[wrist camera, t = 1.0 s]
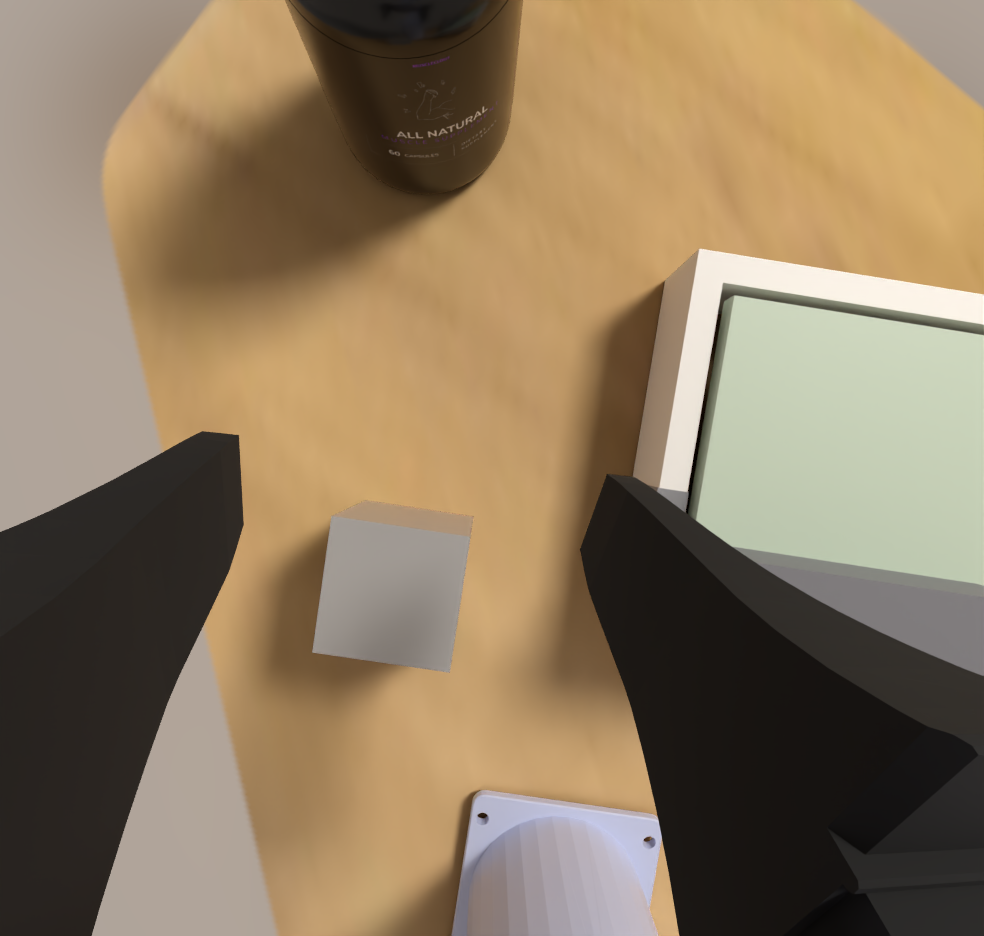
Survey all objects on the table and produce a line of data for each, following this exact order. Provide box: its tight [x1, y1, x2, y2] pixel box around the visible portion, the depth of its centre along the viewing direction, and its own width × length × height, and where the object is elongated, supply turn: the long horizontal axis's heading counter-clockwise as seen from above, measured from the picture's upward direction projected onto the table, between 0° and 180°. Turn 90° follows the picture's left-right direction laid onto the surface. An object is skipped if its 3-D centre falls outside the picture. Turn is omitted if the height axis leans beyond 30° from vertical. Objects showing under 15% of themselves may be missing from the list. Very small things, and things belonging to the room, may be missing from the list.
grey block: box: [312, 500, 474, 673], centre depth 20 cm, size 4×4×5 cm
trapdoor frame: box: [633, 249, 984, 512], centre depth 20 cm, size 14×13×4 cm
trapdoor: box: [688, 295, 984, 676], centre depth 17 cm, size 11×10×4 cm
